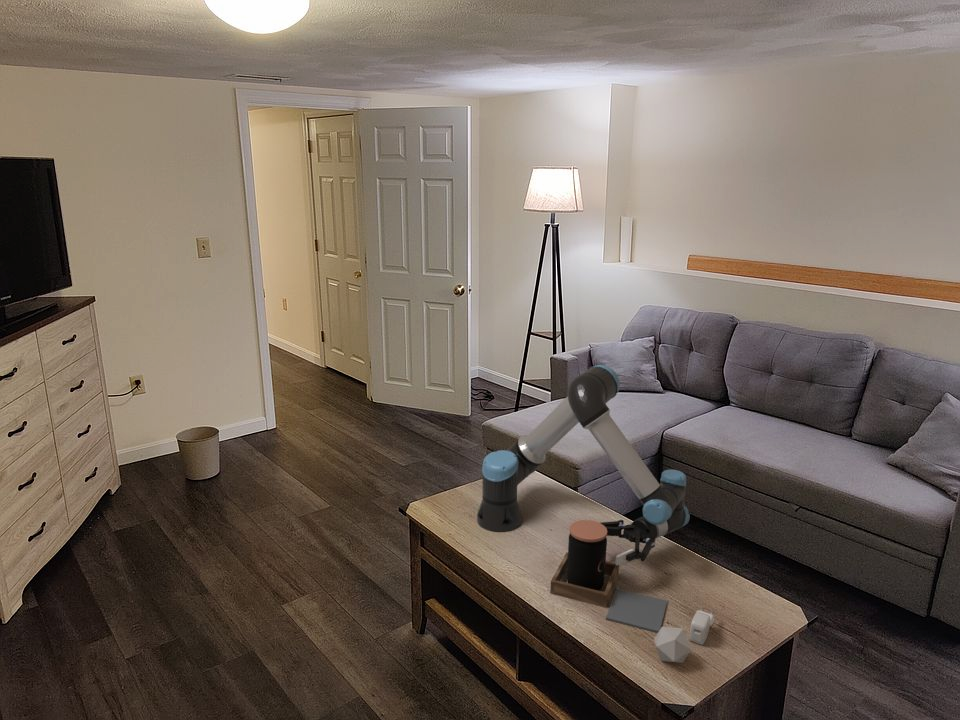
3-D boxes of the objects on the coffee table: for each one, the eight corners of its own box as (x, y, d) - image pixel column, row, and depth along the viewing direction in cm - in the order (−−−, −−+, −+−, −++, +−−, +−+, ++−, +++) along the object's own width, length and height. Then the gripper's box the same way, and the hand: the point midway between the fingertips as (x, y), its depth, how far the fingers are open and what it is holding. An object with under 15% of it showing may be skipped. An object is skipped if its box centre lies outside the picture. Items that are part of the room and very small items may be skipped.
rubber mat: (616, 590, 194) (617, 588, 193) (667, 602, 188) (667, 600, 188) (605, 619, 181) (605, 617, 181) (659, 633, 176) (659, 631, 176)
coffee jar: (603, 598, 190) (607, 541, 185) (565, 593, 192) (567, 537, 187) (604, 576, 200) (608, 521, 195) (568, 571, 202) (570, 517, 197)
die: (678, 678, 162) (701, 645, 162) (647, 655, 163) (670, 622, 163) (673, 665, 170) (695, 634, 170) (644, 644, 171) (665, 612, 171)
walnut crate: (566, 563, 206) (566, 552, 205) (618, 576, 200) (619, 564, 199) (550, 593, 192) (550, 581, 191) (606, 607, 186) (607, 595, 185)
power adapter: (697, 617, 182) (699, 598, 181) (716, 623, 180) (718, 604, 178) (686, 640, 173) (688, 621, 172) (705, 647, 171) (707, 628, 169)
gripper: (681, 557, 198) (631, 582, 186) (617, 521, 217) (568, 542, 206) (683, 534, 196) (632, 558, 184) (619, 500, 215) (569, 519, 203)
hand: (599, 549), depth 195 cm, fingers open, 13 cm apart
